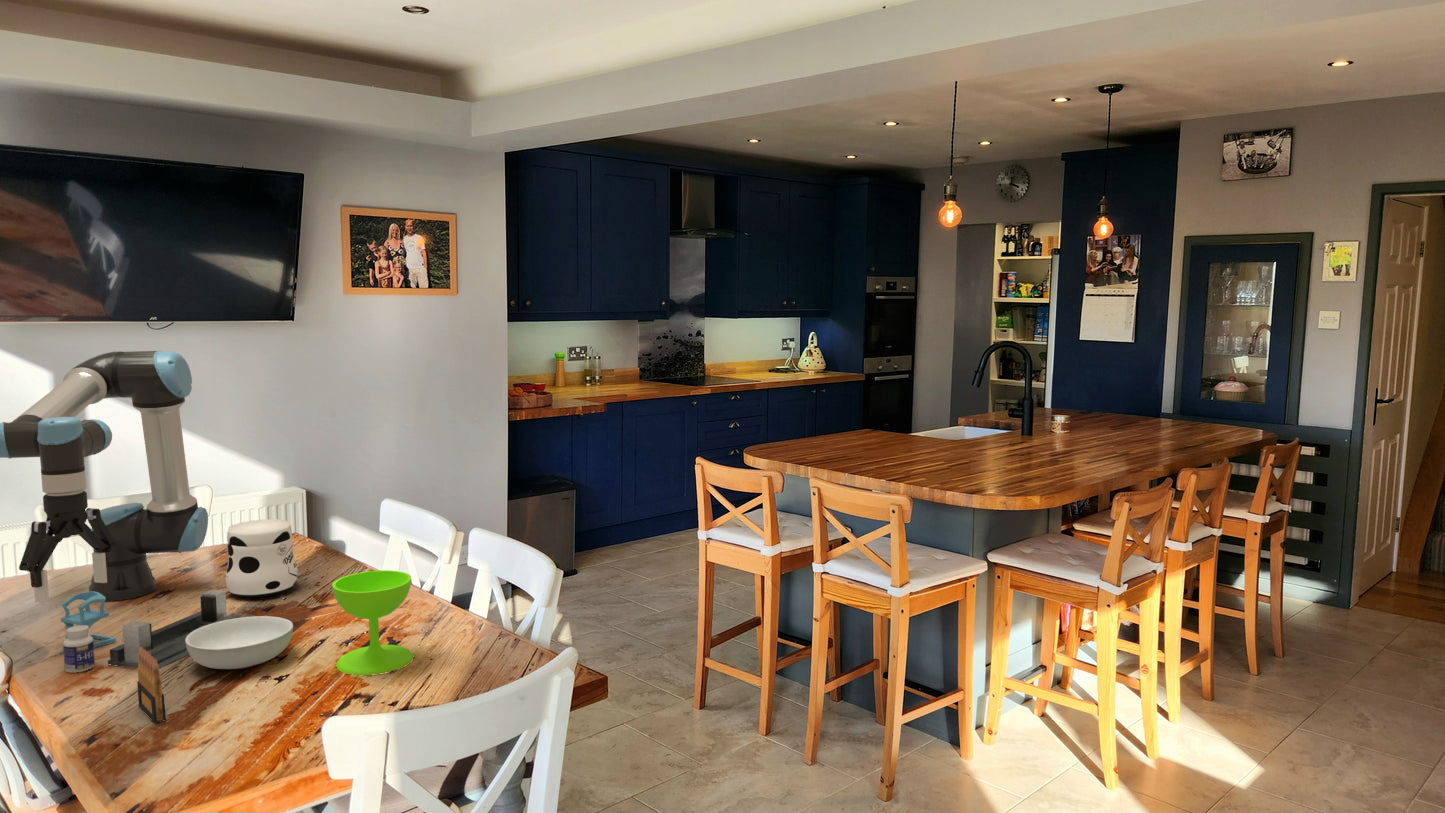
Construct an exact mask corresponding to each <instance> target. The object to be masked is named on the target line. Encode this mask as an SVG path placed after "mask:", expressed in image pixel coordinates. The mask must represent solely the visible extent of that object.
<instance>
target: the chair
mask: <svg viewBox="0 0 1445 813" xmlns="http://www.w3.org/2000/svg"><path fill="white" fill-rule="evenodd" d="M105 599H106V598H105V597H104V596H103V595H102V594H100V593H98V592H94V591H90V592H89V591H86V592H80V593H78V594H74V595H73V596H70V597H69V598H67V600H66V601H64V602H62V603H61V604H60V605H61V607H62V608H63V610H64V617H62V618H60V622H61V623H64V628H65V631H66V630H67V629H68V628H70V627H73V626H79V625H87V626H88V627H89V630H90V629H91V627H92V626H93V625H94V624H95V623H97V622H99V621H101V620H102V619H105V618H107V617H110V612H108V611H105V608H104V606H105V604H106V601H105ZM77 600H80V601H84V602H83V603H82V604H80V605H79V606H77V609H78V611H79V612H78V613H74V614H71V615H70V612H71V611H70V609H69V608H68V606H70V604H71V603H72V602H74V601H77ZM95 603H100V605H99V608H98V609H99V610H94V609H91V607H90V605H92V604H95ZM89 635H90V636H92V638H93V639H94V638H97V639H96V640H99V639H101V640H100V641H96V642H95V641H94V642H93V645H94V647H95V648H97V646H99V647H101V645H103V646H106V645H105V644H107V645H110V644H113V642H114V643H116V642H117V638H116V637H113V636H107V635H100V634H95V633H91V634H89ZM67 638H68V637H67V635H66V634H65V640H66V639H67ZM65 640H64V641H65Z"/></svg>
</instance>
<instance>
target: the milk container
mask: <svg viewBox="0 0 1445 813" xmlns="http://www.w3.org/2000/svg"><path fill="white" fill-rule="evenodd" d="M292 530H293V528H292V524H291V521H288V520H287V519H286V520H285V519H281V518H280V519H279V518H277V519H275V518H271V519H270V518H267V519H255V520H249V521H248V520H247V521H243V522H239V523H235V524H232V525H230V526H229V527H228V528H227V532H226V533H227V534H226V541H227V545H226V546H227V556H228V557H227V560H228V561H227V566H226V571H225V575H224V576H225V577H224V578H225V584H226V588H227V591H228V592H229V593H230V594H232V595H234V596H237V597H242V598H262V597H268V596H269V597H271V596H274V595H277V594H281V593H284V592H287V591H289V590H290V589H292V587H294V586H295V585H296V583H297V581H298V576H299V575H298V574H299V573H298V572H299V571H298V565H297V562H296V559H295V556H294V548H293V546H294V545H293V543H294V542H293V536H292V534H293V533H292V532H293V531H292Z"/></svg>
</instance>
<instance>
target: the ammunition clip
mask: <svg viewBox="0 0 1445 813" xmlns="http://www.w3.org/2000/svg"><path fill="white" fill-rule="evenodd" d="M138 660H139V661H138V669H137V678H138V681H136V682H137V694H138V695H137V697H138V698H137V699H138V707H139V708H140V710H142V711H144V712H145V713H146V714H147V715H148V716H149V717H148V716H147V715H146V714H145V713H144V714H145V715H146V716H147V717H148V718H149V719H150V718H151V719H152V720H151V719H150V720H151V721H152V723H153V724H155V723H156V724H158V723H157V722H159V723H161V722H160V721H163V720H166V721H167V717H166V706H165V694H164V693H163V686H162V678H161V674H160V668H159V666H158V663H157V661H156V659H154V658H153V657H151V655H150V654H148V652H147V651H146V650H145V649H143V647H140V649H139V656H138ZM163 722H164V721H163Z"/></svg>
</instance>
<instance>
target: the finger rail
mask: <svg viewBox="0 0 1445 813" xmlns="http://www.w3.org/2000/svg"><path fill="white" fill-rule="evenodd" d="M199 600H200V611H198V612H195V613H194V614H190V615H188V616H186V617H183V618H181V619H179V620H176V621H174V622H171V623H170V624H168V625H165V626H162V627H159V628H158V629H155V630H153V631H152V629H153V628H152V623H150V621H141V620H140V621H139V620H133V621H129V622H127V623H125V624H122V627H121V628H122V639H123V641H122V642H123V643H122V644H120V645H117V646H115V647H112V648H110V649H109V658H110V659H108V660H107V665H108V664H111V665H110V666H112V665H117V666H116V667H121V666H124V668H129V667H133V668H132V669H137V668H138V661H139V660H138V656H139V649H140V647H143V649H145V650H146V651H147V652H148V654H150V655H151V657H153V658H154V659H156V661H157V663H158V666H159V669H161V668H163V667H165V666H167V665H169V664H172V663H174V662H175V660H176V661H178V660H180V659H182V658H184V657H186V656H188V654H189V653H188V650H187V647H186V643H185V639H186V637H187V636H188V635H189V634H190V633H191V632H193V631H194V630H196V629H198V628H201V627H203V626H206V625H209V624H212V623H216V622H220V621H224V620H229V619H235V618H241V614H240V613H233V612H232V613H231V614H228V612H227V597H226V591H225V590H217V589H210V590H209V589H208V590H207V591H205V592H204V591H203V592H202V593H201V596H200V599H199ZM227 614H228V615H227ZM179 658H180V659H179ZM177 659H178V660H177ZM173 661H174V662H173ZM171 662H172V663H171ZM162 666H163V667H162ZM160 667H161V668H160Z"/></svg>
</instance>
